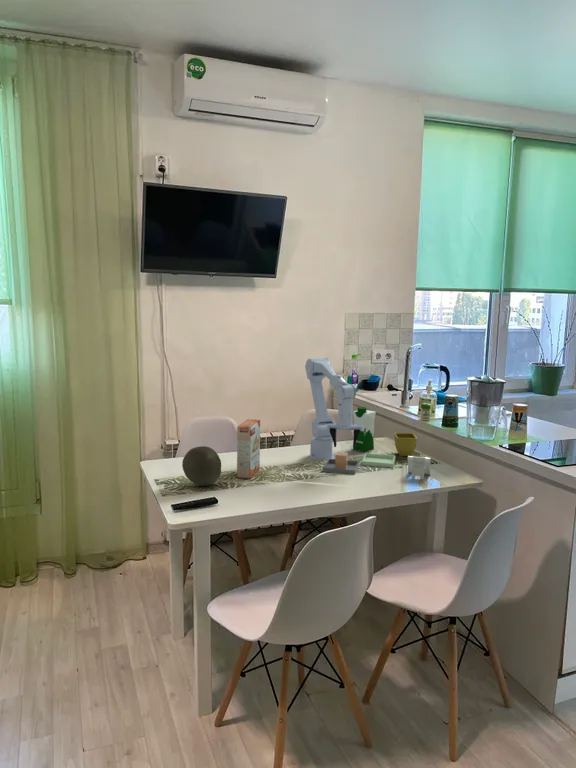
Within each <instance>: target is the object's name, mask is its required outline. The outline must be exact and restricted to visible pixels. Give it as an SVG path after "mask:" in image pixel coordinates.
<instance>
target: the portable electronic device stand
mask: <svg viewBox="0 0 576 768" xmlns="http://www.w3.org/2000/svg"><path fill="white" fill-rule="evenodd" d="M407 473H408V474H411V479H413V478H414V479H413V480H416V477H417V476H418V477H419V479H420V480H424V479H425V475H426V476H427V475H429V476H431V457H427V456H426V457H422V456H413V455H411V456H407Z"/></svg>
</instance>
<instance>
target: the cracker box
mask: <svg viewBox="0 0 576 768" xmlns="http://www.w3.org/2000/svg"><path fill="white" fill-rule="evenodd" d="M236 429H237V430H236V434H237V435H236V442H237V443H236V455H237V456H236V461H237V462H236V478H237V479H238V478H239V479H251V478H252V477H253V476H254V475H255V474H256V473H257V472H258V471H259V470H260V468H261V467H260V463H261V460H260V456H261V452H260V451H261V450H260V449H261V448H260V447H261V419H252V418H248V419H245V420H244V421H243V422H241V423H240V424H239V425H237V427H236Z"/></svg>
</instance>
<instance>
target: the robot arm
mask: <svg viewBox="0 0 576 768" xmlns="http://www.w3.org/2000/svg"><path fill="white" fill-rule="evenodd" d="M304 368H305V372H306V378H307V379H308V380H309V382H310V388H311V395H312V399H313V404H314V411H315V415H316V417H315V418H314V419H313V420H312V422H311V434H312V436H313V437H311V440H310V449H309V450H310V452H309V455H310V456H309V457H310V458H309V459H312V460H323V461H328V459H334V458H335V454H333V448H336V447H337V434H338V430H340V431H341V430H345V431H346V430H347V431H353V440H354V441H353V442H352V449H353V448H355V444H356V440H357V438H358V435H359V433H360V431H363V425H355V424H354V423H353V412H354V411H353V409H354V408H353V405H354V404H353V400H354V399H355V398H356V395H357V391H356V387H355V386H354V385H353V384H350V383H348V382H347V381H346V380H345V379H344V378H343V377H342V375H341V374H337V373H336V372H335V371H334V368H332V362H331V360H330V359H329V358H328V357H325V358H324V357H323V358H308V359H306V362H305V366H304ZM325 378H327V379H328V380H329V385H330V386H331V387H332V388H333V390H334V391H335V396H336V401H337V404H338V406H337V407H338V408H337V409H338V412H337V413H338V415H337V419H338V420H337V423H336V422H335V419H334V418H333V417H331V416H330V415H329V412H328V408H327V403H326V397H325V392H324V387H323V382H322V381H323V379H325Z"/></svg>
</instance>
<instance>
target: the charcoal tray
mask: <svg viewBox="0 0 576 768" xmlns="http://www.w3.org/2000/svg"><path fill="white" fill-rule="evenodd" d="M359 466H360V460H350V459H348V467H347V469H338V468H335V458H332V459H328V460H326V462H325V464H324V465H323V467H322V472H326V473H327V472H328V473H334V474H335V473H336V474H346V475H347V474H349V475H355V474H356V473H357V471H358V469H359Z"/></svg>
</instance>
